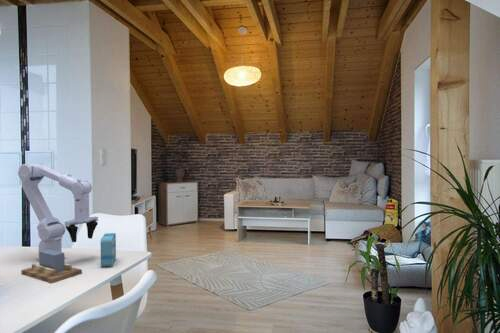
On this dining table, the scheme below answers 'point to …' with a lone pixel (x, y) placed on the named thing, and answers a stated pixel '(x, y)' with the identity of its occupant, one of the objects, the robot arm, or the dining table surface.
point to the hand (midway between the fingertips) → (82, 240)
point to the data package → (108, 249)
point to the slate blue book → (52, 260)
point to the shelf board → (50, 273)
